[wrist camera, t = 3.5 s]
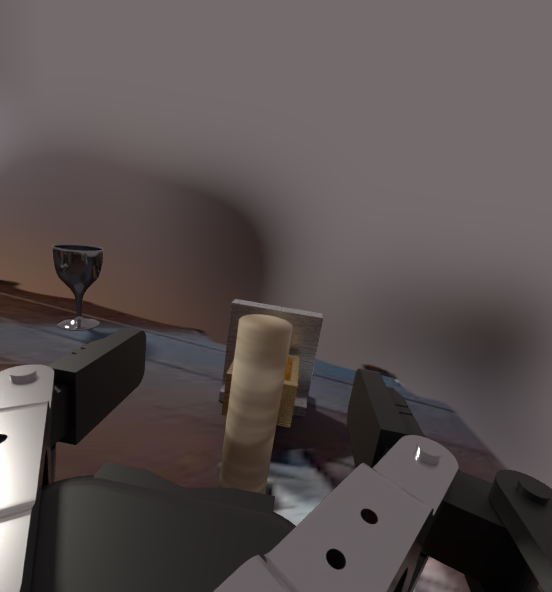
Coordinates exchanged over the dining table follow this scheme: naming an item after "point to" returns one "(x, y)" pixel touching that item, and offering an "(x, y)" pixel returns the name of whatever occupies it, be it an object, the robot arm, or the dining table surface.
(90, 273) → the wine glass
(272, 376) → the rail post
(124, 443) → the dining table surface
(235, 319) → the cup bracket
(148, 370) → the dining table surface
